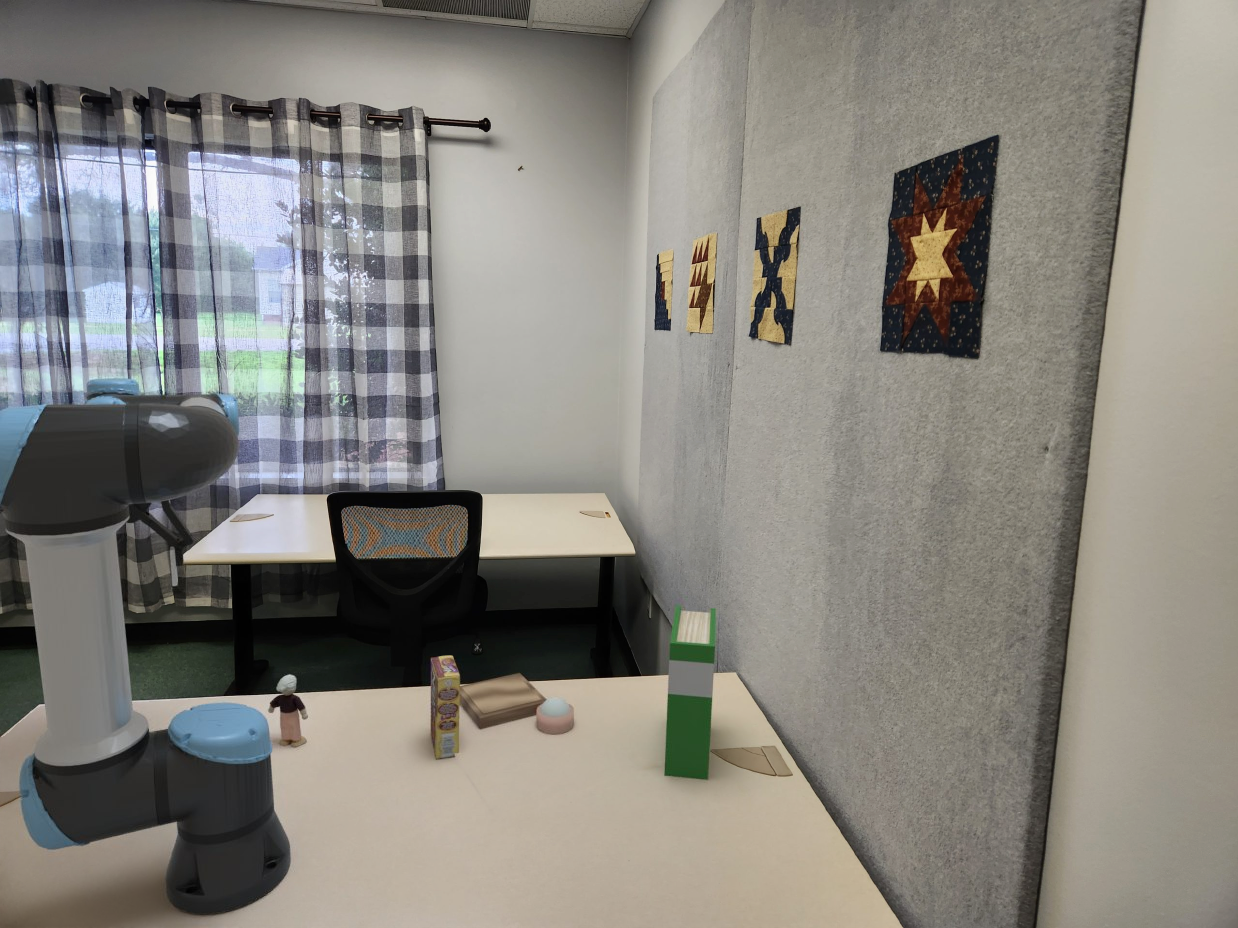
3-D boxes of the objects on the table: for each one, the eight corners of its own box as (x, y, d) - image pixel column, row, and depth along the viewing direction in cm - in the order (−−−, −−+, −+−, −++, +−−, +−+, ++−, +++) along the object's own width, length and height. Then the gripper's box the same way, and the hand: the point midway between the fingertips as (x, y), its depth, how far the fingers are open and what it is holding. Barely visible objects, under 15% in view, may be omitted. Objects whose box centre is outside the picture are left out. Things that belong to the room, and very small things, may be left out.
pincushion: (579, 732, 144) (580, 702, 143) (546, 741, 140) (546, 711, 139) (563, 715, 150) (563, 687, 149) (530, 724, 146) (530, 695, 145)
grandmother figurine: (315, 736, 140) (313, 671, 137) (307, 748, 136) (303, 681, 134) (274, 735, 140) (270, 670, 137) (264, 746, 136) (260, 679, 134)
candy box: (461, 756, 135) (460, 674, 132) (436, 760, 133) (435, 678, 131) (453, 731, 143) (453, 654, 140) (430, 734, 141) (429, 656, 139)
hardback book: (670, 723, 148) (676, 605, 144) (709, 727, 147) (715, 608, 143) (664, 775, 131) (669, 642, 127) (707, 779, 130) (715, 646, 126)
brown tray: (548, 715, 150) (548, 700, 149) (480, 732, 143) (480, 717, 142) (519, 686, 161) (519, 672, 161) (455, 700, 154) (455, 686, 154)
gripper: (203, 462, 140) (211, 573, 143) (34, 470, 128) (47, 591, 132) (203, 468, 133) (210, 585, 137) (24, 478, 122) (38, 605, 125)
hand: (130, 588), depth 134 cm, fingers open, 13 cm apart
